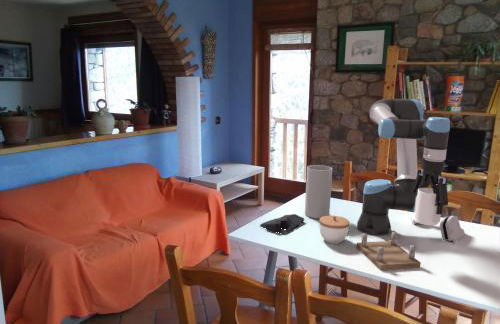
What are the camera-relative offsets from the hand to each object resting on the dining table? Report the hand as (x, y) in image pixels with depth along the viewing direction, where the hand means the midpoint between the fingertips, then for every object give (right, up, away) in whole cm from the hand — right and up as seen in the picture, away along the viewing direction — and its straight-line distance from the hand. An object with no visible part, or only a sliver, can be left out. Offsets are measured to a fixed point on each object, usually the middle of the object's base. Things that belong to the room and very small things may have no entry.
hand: (426, 216), depth 145 cm
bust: (+16, -9, +44) cm, 48 cm away
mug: (0, -1, +1) cm, 2 cm away
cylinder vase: (-33, -7, +51) cm, 61 cm away
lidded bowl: (-31, -13, +20) cm, 39 cm away
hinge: (+24, -13, +27) cm, 38 cm away
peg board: (-14, -17, +5) cm, 22 cm away
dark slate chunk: (-51, -10, +36) cm, 64 cm away
